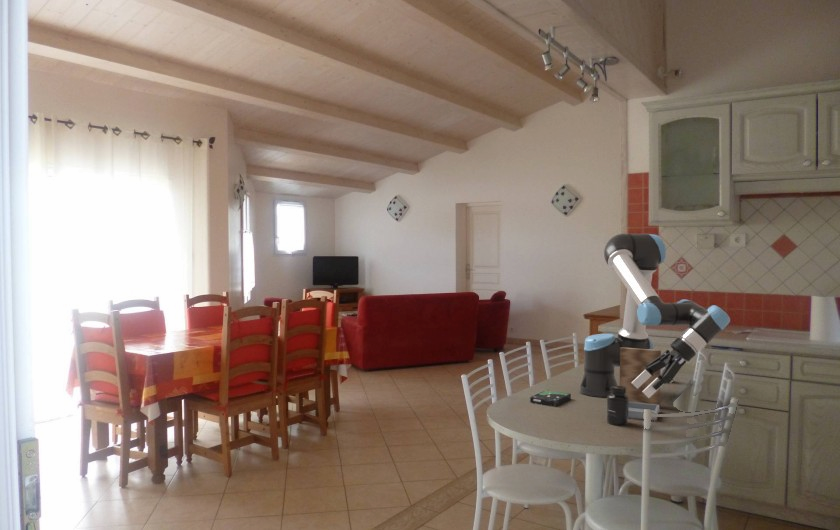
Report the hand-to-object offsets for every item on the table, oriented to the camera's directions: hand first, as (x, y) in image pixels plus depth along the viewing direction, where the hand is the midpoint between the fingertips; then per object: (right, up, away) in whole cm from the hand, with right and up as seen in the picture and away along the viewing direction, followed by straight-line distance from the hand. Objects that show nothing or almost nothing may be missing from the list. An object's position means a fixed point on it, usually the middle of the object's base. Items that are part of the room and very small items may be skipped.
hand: (639, 390), depth 199 cm
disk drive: (-22, -11, +32) cm, 40 cm away
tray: (+4, -11, +14) cm, 18 cm away
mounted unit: (+10, -11, +26) cm, 30 cm away
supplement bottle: (-7, -11, +2) cm, 13 cm away
